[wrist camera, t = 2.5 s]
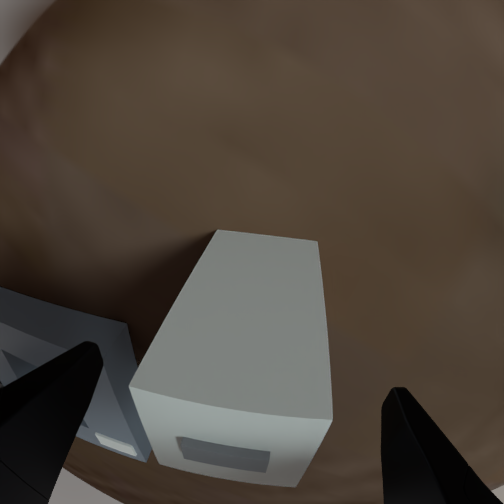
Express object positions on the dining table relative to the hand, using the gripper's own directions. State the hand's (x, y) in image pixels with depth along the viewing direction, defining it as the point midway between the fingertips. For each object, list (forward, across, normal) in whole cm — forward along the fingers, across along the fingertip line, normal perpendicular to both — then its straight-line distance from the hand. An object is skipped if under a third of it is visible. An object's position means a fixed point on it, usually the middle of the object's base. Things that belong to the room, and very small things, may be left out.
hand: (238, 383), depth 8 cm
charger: (+6, 0, 0) cm, 6 cm away
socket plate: (+6, +14, +10) cm, 18 cm away
